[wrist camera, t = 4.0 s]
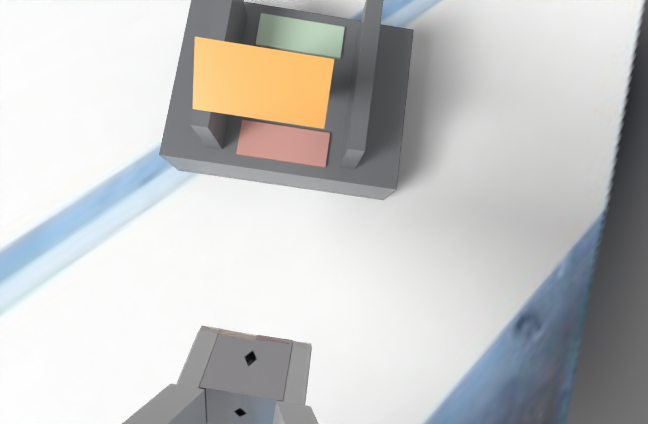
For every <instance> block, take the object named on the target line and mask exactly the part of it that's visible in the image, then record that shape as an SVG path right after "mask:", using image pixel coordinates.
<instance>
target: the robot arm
mask: <svg viewBox="0 0 648 424" xmlns="http://www.w3.org/2000/svg"><path fill="white" fill-rule="evenodd" d="M292 342H293V343H292ZM311 350H312V347H311V343H304V342H297V341H293V340H288V339H281V338H274V337H268V336H261V335H252V334H247V333H241V332H235V331H229V330H223V329H220V328H213V327H207V326H202V327H201V328H200V330H199V331H198V333H197V336H196V338H195V341H194V343H193V345H192V348H191V350H190V353H189V355H188V357H187V360H186V362H185V365H184V367H183V370H182V372H181V374H180V377H179V379H178V382H177V384H170V385H168V386H167V387H166V388H165V389H164V390H162V391H161V392H160V393H159V394H157V395H156V396H155V397H154V398H153V399H151V400H150V401H149V402H148V403H147V404H145V405H144V406H143V407H142V408H141V409H139V410H138V411H137V412H136V413H135V414H133V415H132V416H131V417H130V418H128V419H127V420H126V421H125V422H124V423H122V424H318V422H317V420H316V417H315V415H314V413H313V411H312V408H311V406H307V405H305V401H306V393H307V384H308V375H309V367H310V358H311Z"/></svg>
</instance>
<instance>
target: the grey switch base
mask: <svg viewBox="0 0 648 424" xmlns="http://www.w3.org/2000/svg"><path fill="white" fill-rule="evenodd" d="M382 6H383V0H366V2H365V6H364V10H363V14H362V18H361V21H357V20H351V19H345V18H339V17H333V16H327V15H321V14H315V13H309V12H303V11H297V10H291V9H285V8H279V7H273V6H267V5H261V4H255V3H249V2H244V0H191V4H190V9H189V14H188V19H187V24H186V28H185V33H184V38H183V43H182V48H181V52H180V57H179V62H178V67H177V72H176V76H175V81H174V86H173V91H172V95H171V100H170V105H169V110H168V115H167V119H166V124H165V129H164V134H163V139H162V143H161V148H160V153H159V155H160V156H161V157H162V158H164V159H165V160H166V161H167V162H169V163H170V164H171V165H172V166H174V167H175V168H176V169H177V170H180V171H187V172H194V173H201V174H208V175H215V176H221V177H228V178H235V179H242V180H249V181H256V182H263V183H270V184H277V185H283V186H290V187H297V188H304V189H311V190H318V191H325V192H332V193H339V194H345V195H352V196H359V197H366V198H373V199H380V200H384V199H385V198H386V197H388V196H389V195H390V194H392V193H393V192H394V191H395V190H396V188H397V179H398V170H399V160H400V151H401V141H402V132H403V123H404V113H405V104H406V95H407V85H408V76H409V67H410V57H411V48H412V39H413V30H411V29H405V28H399V27H393V26H387V25H381V24H380V23H381V14H382ZM195 37H201V38H207V39H213V40H219V41H225V42H232V43H238V44H244V45H250V46H256V47H263V48H269V49H275V50H281V51H287V52H294V53H300V54H306V55H312V56H318V57H325V58H331V59H334V65H333V72H332V79H331V85H330V92H329V99H328V106H327V113H326V119H325V126H324V129H321V128H315V127H308V126H301V125H295V124H288V123H282V122H275V121H269V120H262V119H256V118H249V117H243V116H236V115H229V114H223V113H216V112H210V111H203V110H197V109H193V79H194V46H195Z"/></svg>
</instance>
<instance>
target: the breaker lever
mask: <svg viewBox="0 0 648 424" xmlns="http://www.w3.org/2000/svg"><path fill="white" fill-rule="evenodd" d="M333 65H334V59H331V58H325V57H318V56H312V55H306V54H300V53H294V52H287V51H281V50H275V49H269V48H263V47H256V46H250V45H244V44H238V43H232V42H225V41H219V40H213V39H207V38H201V37H195V46H194V79H193V109H197V110H203V111H210V112H216V113H223V114H229V115H236V116H243V117H249V118H256V119H262V120H269V121H275V122H282V123H288V124H295V125H301V126H308V127H315V128H321V129H324V126H325V119H326V113H327V106H328V99H329V92H330V85H331V79H332V72H333Z"/></svg>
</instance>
